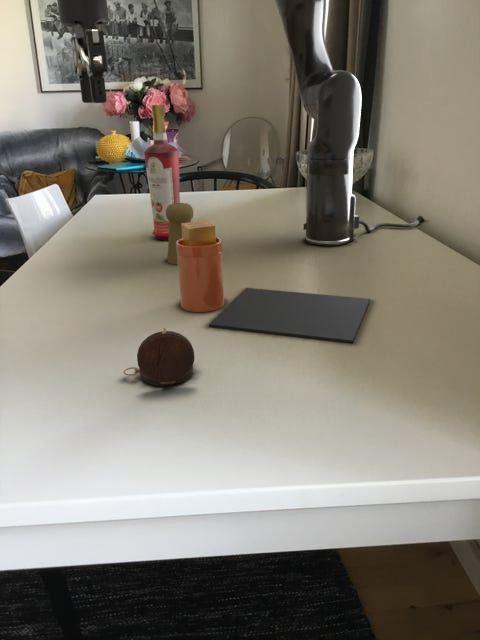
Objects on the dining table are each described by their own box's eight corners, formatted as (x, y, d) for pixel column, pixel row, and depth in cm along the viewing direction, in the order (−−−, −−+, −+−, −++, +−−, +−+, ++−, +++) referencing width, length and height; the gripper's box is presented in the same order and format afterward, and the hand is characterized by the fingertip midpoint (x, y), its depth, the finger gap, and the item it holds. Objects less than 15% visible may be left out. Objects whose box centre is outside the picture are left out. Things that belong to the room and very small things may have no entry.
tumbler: (215, 294, 91) (213, 233, 88) (230, 308, 86) (227, 243, 82) (175, 300, 89) (171, 238, 85) (187, 315, 83) (183, 249, 80)
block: (208, 246, 87) (206, 220, 85) (216, 252, 83) (215, 225, 82) (182, 249, 85) (180, 223, 84) (190, 255, 82) (188, 228, 80)
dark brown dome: (190, 360, 69) (186, 304, 67) (197, 391, 62) (193, 330, 59) (124, 366, 68) (117, 310, 66) (123, 399, 61) (115, 337, 58)
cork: (193, 265, 107) (189, 206, 103) (163, 264, 108) (158, 206, 104) (202, 256, 112) (198, 200, 108) (172, 255, 114) (168, 200, 109)
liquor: (145, 240, 126) (132, 106, 115) (162, 232, 132) (151, 104, 121) (175, 242, 123) (164, 105, 112) (190, 234, 129) (181, 103, 119)
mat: (209, 326, 79) (208, 324, 79) (246, 290, 93) (246, 287, 93) (352, 343, 73) (352, 340, 72) (369, 301, 86) (370, 298, 86)
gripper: (115, -16, 83) (127, 102, 89) (95, -2, 95) (107, 101, 101) (63, -18, 80) (78, 104, 87) (49, -3, 92) (64, 103, 99)
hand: (94, 102), depth 94 cm, fingers open, 8 cm apart
